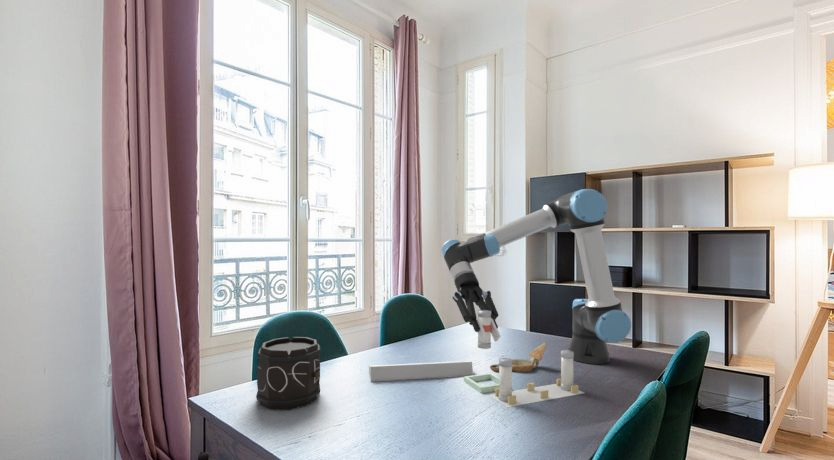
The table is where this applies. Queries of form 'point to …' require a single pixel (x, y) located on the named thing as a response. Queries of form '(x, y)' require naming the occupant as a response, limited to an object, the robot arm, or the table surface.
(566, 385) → the fuse
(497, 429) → the table surface
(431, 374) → the decorative molding
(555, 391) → the fuse block
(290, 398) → the coffee canister
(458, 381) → the table surface
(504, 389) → the cylinder
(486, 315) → the marked fuse
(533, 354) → the oil lamp
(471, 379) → the tray
